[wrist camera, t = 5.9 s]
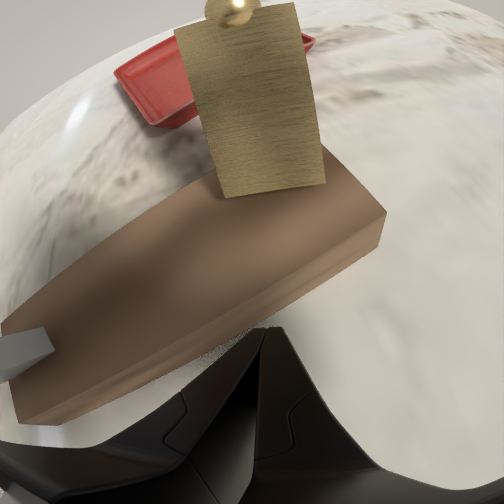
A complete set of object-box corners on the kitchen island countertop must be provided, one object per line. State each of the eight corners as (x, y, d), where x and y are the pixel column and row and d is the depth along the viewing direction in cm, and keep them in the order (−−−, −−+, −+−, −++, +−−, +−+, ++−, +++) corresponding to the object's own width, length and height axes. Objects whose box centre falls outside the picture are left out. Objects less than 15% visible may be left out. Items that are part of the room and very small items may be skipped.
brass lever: (326, 187, 14) (286, -29, 8) (223, 202, 15) (162, 2, 9) (321, 166, 16) (284, -20, 10) (230, 179, 17) (179, 5, 11)
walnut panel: (377, 246, 18) (387, 211, 14) (57, 425, 17) (18, 423, 14) (305, 163, 22) (298, 122, 18) (35, 336, 21) (0, 323, 18)
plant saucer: (235, 26, 36) (229, 8, 33) (322, 64, 27) (319, 37, 24) (123, 88, 35) (111, 71, 32) (167, 152, 26) (150, 127, 23)
